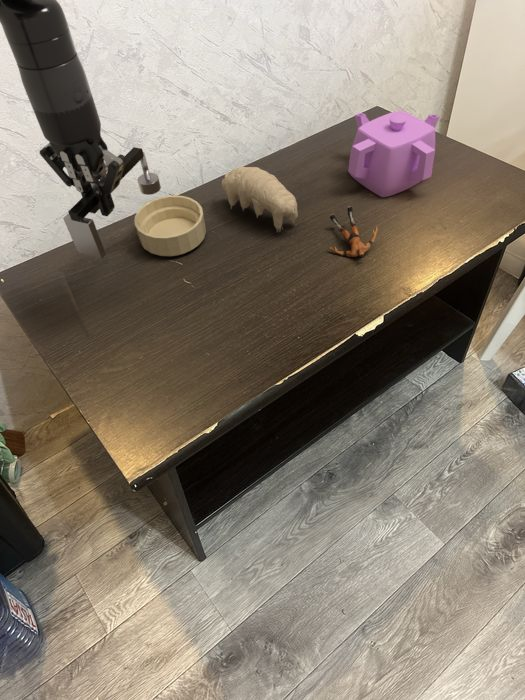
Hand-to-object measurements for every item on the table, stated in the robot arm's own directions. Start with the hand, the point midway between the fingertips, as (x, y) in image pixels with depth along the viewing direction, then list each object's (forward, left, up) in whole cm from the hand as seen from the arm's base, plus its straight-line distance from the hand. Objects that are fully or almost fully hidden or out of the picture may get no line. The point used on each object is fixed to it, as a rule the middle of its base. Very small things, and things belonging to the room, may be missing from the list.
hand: (101, 211), depth 77 cm
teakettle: (+59, +2, -16) cm, 61 cm away
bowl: (+12, +8, -16) cm, 21 cm away
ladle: (+4, +3, -4) cm, 6 cm away
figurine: (+39, -12, -16) cm, 44 cm away
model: (+29, +4, -16) cm, 33 cm away
